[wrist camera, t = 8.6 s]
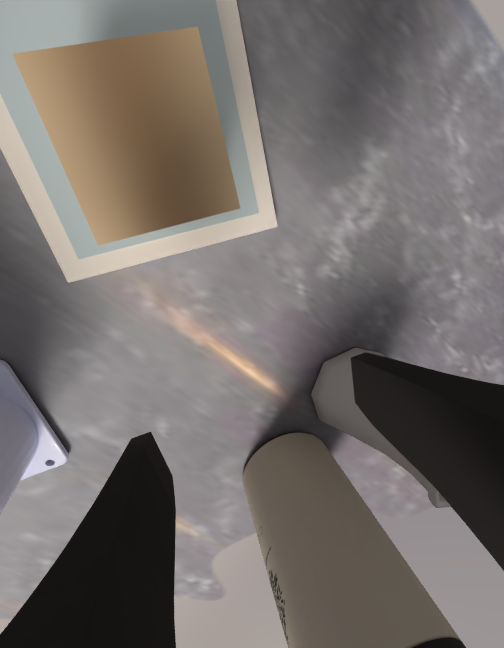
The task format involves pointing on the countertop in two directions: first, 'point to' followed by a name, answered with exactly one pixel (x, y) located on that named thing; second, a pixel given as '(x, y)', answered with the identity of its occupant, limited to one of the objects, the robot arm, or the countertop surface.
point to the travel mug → (333, 556)
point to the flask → (357, 414)
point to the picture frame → (44, 164)
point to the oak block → (134, 130)
